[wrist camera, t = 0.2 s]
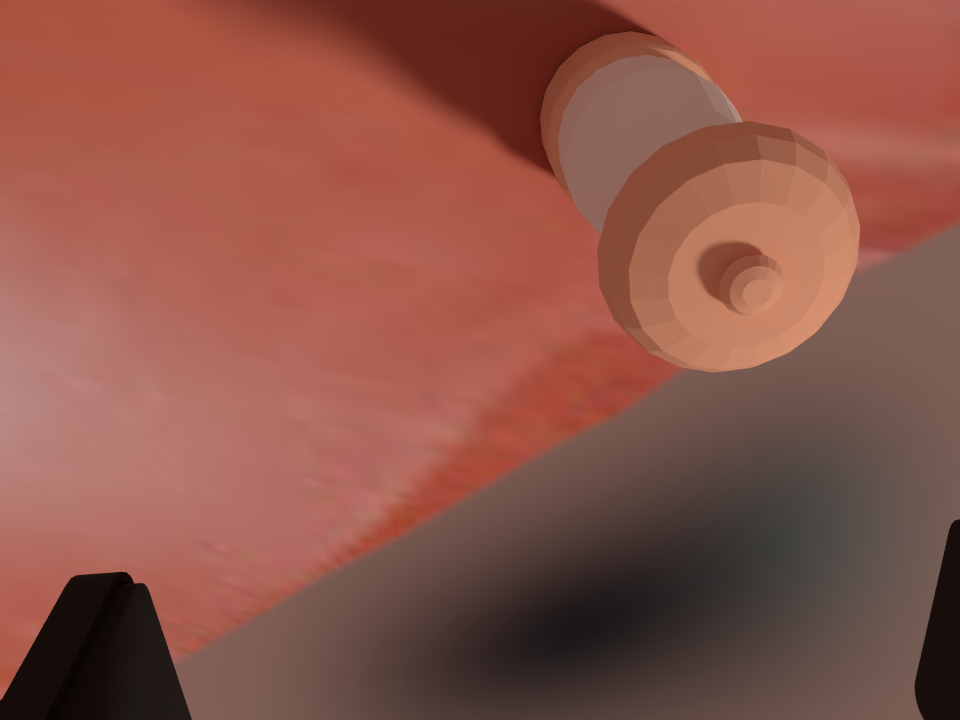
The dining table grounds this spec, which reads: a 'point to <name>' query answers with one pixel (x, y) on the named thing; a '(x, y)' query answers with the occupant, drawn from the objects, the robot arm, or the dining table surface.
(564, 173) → the pepper shaker
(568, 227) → the dining table surface
